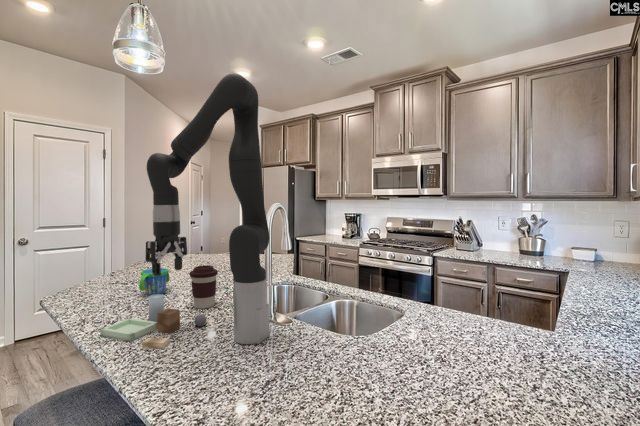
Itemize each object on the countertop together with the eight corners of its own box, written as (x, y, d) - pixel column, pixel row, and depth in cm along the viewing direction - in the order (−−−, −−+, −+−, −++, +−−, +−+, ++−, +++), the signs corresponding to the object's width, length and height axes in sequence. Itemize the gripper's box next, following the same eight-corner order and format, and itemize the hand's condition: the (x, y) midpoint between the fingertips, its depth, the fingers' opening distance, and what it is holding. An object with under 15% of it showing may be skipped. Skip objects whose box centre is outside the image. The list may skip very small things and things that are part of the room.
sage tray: (158, 328, 103) (158, 322, 103) (131, 341, 94) (130, 334, 94) (129, 324, 107) (129, 317, 107) (100, 335, 98) (100, 329, 98)
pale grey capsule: (167, 318, 113) (166, 294, 112) (156, 322, 108) (155, 298, 108) (156, 316, 114) (156, 293, 114) (145, 321, 110) (145, 297, 110)
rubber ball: (208, 324, 107) (208, 313, 106) (201, 328, 103) (201, 317, 103) (199, 323, 108) (199, 312, 108) (192, 327, 104) (191, 316, 104)
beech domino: (169, 345, 92) (169, 338, 92) (163, 350, 89) (163, 342, 89) (148, 344, 93) (148, 337, 93) (142, 349, 90) (141, 342, 90)
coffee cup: (184, 307, 123) (183, 268, 123) (205, 300, 132) (204, 263, 132) (203, 312, 119) (203, 270, 118) (223, 304, 128) (223, 265, 127)
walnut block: (180, 328, 103) (179, 309, 103) (169, 334, 99) (168, 314, 99) (168, 326, 105) (168, 308, 105) (157, 332, 101) (157, 312, 100)
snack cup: (149, 300, 133) (149, 275, 133) (130, 297, 137) (129, 273, 136) (178, 290, 148) (178, 267, 147) (160, 288, 151) (159, 266, 151)
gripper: (157, 221, 93) (159, 278, 94) (192, 218, 106) (194, 268, 107) (137, 221, 95) (139, 276, 96) (174, 218, 109) (175, 267, 109)
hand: (168, 272), depth 101 cm, fingers open, 8 cm apart
